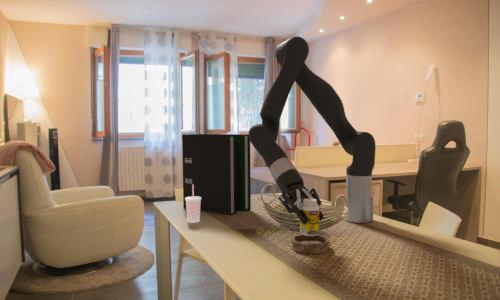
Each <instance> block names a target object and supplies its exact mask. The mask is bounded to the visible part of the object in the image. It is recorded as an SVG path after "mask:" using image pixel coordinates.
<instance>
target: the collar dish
mask: <svg viewBox="0 0 500 300" xmlns="http://www.w3.org/2000/svg"><path fill="white" fill-rule="evenodd" d="M329 247H330V239H329V238H328V236H325V235H321V234H318V235H316V236H304V235H302V234H301V233H299V234H296V235H294V236H291V249H292V250H293V251H295V252H297V253H300V254H305V255H318V254H325V253H326V252H328V251H330V250H329V249H330V248H329Z"/></svg>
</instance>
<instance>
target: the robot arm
mask: <svg viewBox="0 0 500 300" xmlns="http://www.w3.org/2000/svg"><path fill="white" fill-rule="evenodd" d="M309 47H310V46H309V44H308V42H307V40H306V39H305V38H303V37H301V36H293V37H292V36H291V37H289V38H288V39H286V40H284V41H283V42H281V43H279V44H278V45H277V46H276V48H275V59H276V60H277V62H278V64H279V65H280V70H279V73H278V74H277V77H276V78H275V79H274V81H273V82H272V84H271V86H270V87H269V89H268V92H267V93H266V95H265V98H264V100H263V103H262V106H261V109H260V113H259V115H260V119H261V123H256V124H252V126H251V127H250V128H249V131H248V135H249V140H250V144H251V145H252V146H253V148H255V150H256V151H257V153H258V154H259V155H260V156H261V157H262V159H263V161H264V163H265V164H266V166H267V168H268V170H269V171H270V174H271V176H272V178H273V180H274V181H275V183H276V185H277V186H278V188H279V190H280V191H281V194H280V196H278V200H279V202H280V203H281V204H282V205H283V206H284V208H285V209H286V210H287V212H288V214H295V215H296V216H297V219H299V222H300V221H301V222H302V223H303V224H304V225H305V224H307V223H308V222H309V219H308V217H307V216H306V214H305V212H304V211H303V210H302V207H301V206H302V205H303V199H308V198H310V199H316V200H317V205H316V206H318V207H319V222H321V221H322V220H324V218H325V217H324V214H323V212H322V211H321V209H320V206H321V205H322V200H321V199H320V196H319V195H318V192H317V191H316V188H314V187H313V188H311V189H308V188H307V187H306V186H305V183H304V179H303V178H302V177H303V176H301V174H300V172H299V171H298V170H297V168H296V165H295V164H293V163H294V162H292V161H291V159H290V158H289V157H288V156H287V153H286V152H285V151H284V149H283V148H282V147H281V146H280V145H279V144H278V143H277V140H278V135H279V128H280V120H281V118H282V114H283V111H284V109H285V106H286V103H287V100H288V97H289V95H290V93H291V90H292V88H293V85H294V83H296V84H297V86H298V87H299V88H300V89H301V91H302V92H303V94H304V95H305V96H306V98H307V99H308V101H310V103H311V105H312V106H313V108H315V110H316V111H317V113H318V114H319V115H320V116H321V118H322V119H323V120H324V122H325V123H326V125H327V126H328V127H329V128H330V130H331V131H332V132H333V133H334V135H335V137H336V138H337V141H338V142H339V143H340V145H341V147H342V149H343V150H344V151H345V152H346V154H348V155H350V156H352V162H351V164H350V165H348V166H347V167H346V170H345V171H346V173H345V175H346V177H345V178H346V179H345V181H346V184H345V186H346V187H345V188H346V191H345V192H346V193H345V199H346V198H347V199H348V213H347V216H346V215H345V220H346V221H348V222H350V223H356V224H357V223H358V224H366V223H373V222H374V196H373V193H372V192H373V191H372V190H373V186H372V185H373V170H374V169H375V164H376V163H375V161H376V140H375V138H374V136H373V134H371V133H370V132H368V131H358V130H356V129H355V128H354V126H353V125H352V124H351V123H350V121H349V120H348V118H347V116H346V112H345V108H344V104H343V100H342V99H341V97H340V96H339V94H338V93H337V92H336V90H335V89H334V87H333V86H332V85H331V84H330V83H329V82H328V81H326V80H325V79H323V78H321V76H319V75H317V74H316V73H315V72H313V71H312V70H311V69H310V68H309V66H308V64H306V60H307V59H308V56H309V53H310V52H309V51H310V48H309Z"/></svg>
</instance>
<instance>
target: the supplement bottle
mask: <svg viewBox="0 0 500 300" xmlns="http://www.w3.org/2000/svg"><path fill="white" fill-rule="evenodd" d="M316 205H317V200H316V199H310V198H308V199H303V204H301V207H302V210H303V211H304V212H305V214H306V216H307V217H308V219H309V222H308V223H307V224H305V225H304V224H303V223H302V222H301V221H300V220H299V234H302V235H304V236H316V235H320V234H319V233H320V221H319V209H320V206H319V207H318V206H316Z"/></svg>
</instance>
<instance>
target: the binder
mask: <svg viewBox="0 0 500 300" xmlns="http://www.w3.org/2000/svg"><path fill="white" fill-rule="evenodd" d="M181 137H182V139H181V142H182V144H181V146H182V148H181V149H182V191H183V193H182V194H183V200H182V201H183V208H185V209H186V201H185V198H186V197H190V196H192V184H194V196H199V197H201V204H200V212H202V211H203V212H206V213H207V212H208V213H211V214H212V213H213V214H217V213H218V214H219V215H223V214H224V216H228V215H230V216H229V217H231V216H232V215H237V214H238V211H239V212H244V213H246V211H251V210H252V209H251V208H252V206H251V205H252V204H251V203H252V201H251V200H252V199H251V197H252V196H251V194H252V193H251V189H252V188H251V186H252V185H251V184H252V183H251V142H250V140H249V134H234V133H233V134H231V133H229V134H228V133H226V134H225V133H224V134H223V133H197V134H195V133H193V134H191V133H190V134H182V135H181Z"/></svg>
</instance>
